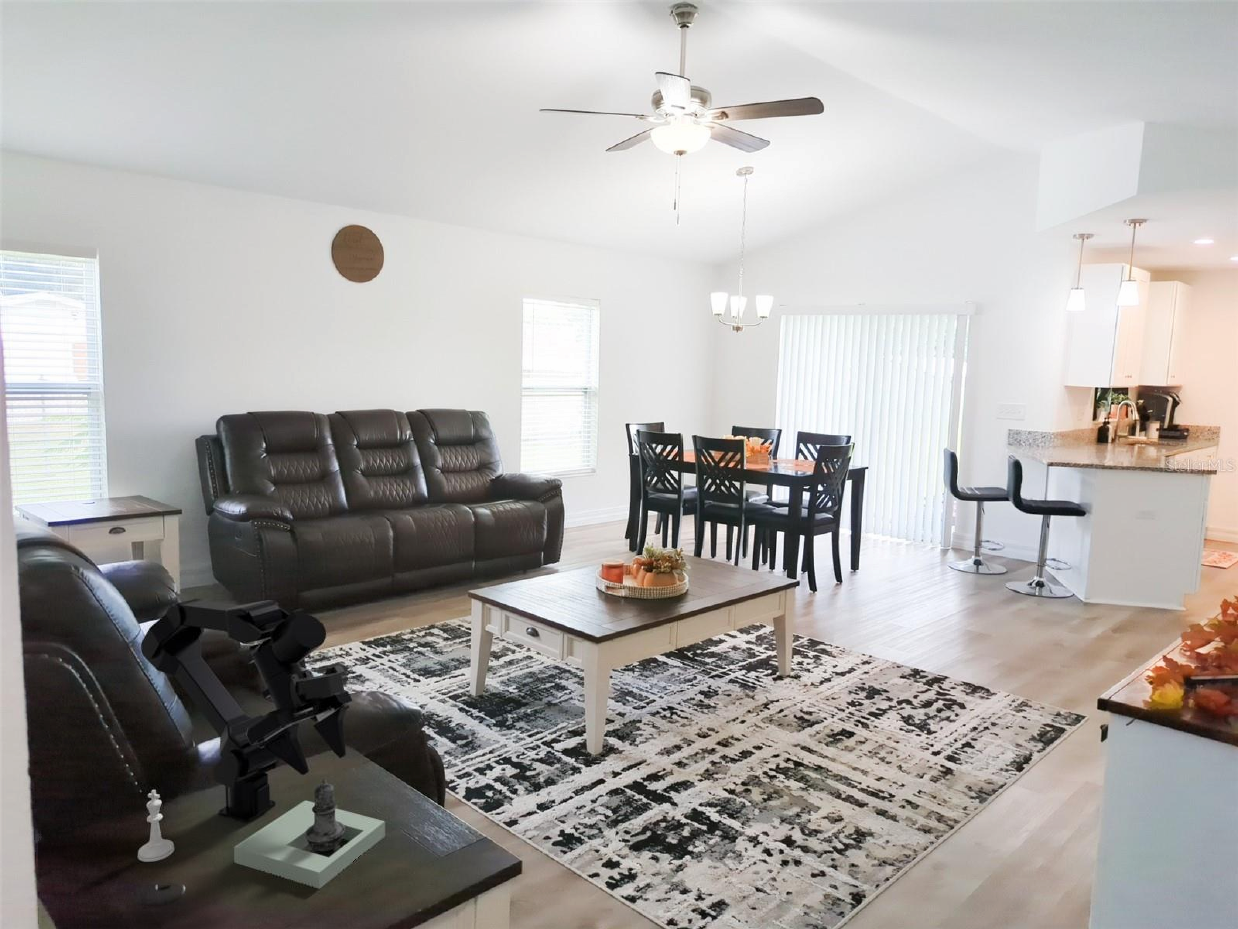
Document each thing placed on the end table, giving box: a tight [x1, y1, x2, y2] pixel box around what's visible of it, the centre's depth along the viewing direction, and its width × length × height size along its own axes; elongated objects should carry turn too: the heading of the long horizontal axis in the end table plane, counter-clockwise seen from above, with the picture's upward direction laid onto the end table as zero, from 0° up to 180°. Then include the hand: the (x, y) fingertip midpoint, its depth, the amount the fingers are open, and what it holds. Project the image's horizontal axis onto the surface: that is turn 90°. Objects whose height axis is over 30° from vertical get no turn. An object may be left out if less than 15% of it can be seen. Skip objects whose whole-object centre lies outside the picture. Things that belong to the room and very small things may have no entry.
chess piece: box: [137, 789, 175, 863], centre depth 129 cm, size 5×5×10 cm
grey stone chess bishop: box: [305, 778, 345, 858], centre depth 130 cm, size 6×6×12 cm
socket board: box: [233, 800, 386, 890], centre depth 131 cm, size 16×15×2 cm
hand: (325, 765), depth 131 cm, fingers open, 9 cm apart
